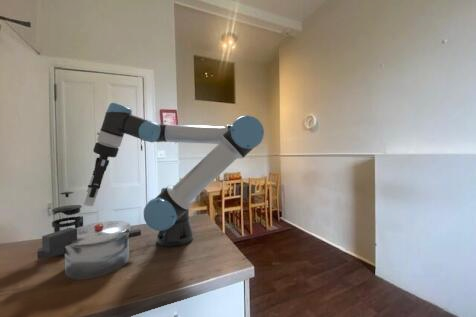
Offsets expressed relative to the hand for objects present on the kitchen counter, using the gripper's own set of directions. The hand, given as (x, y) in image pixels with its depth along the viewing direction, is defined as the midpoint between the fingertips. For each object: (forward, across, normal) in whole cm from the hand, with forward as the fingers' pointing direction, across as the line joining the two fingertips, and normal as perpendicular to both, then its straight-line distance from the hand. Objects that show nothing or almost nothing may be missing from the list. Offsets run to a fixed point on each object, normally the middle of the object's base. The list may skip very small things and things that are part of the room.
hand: (89, 198), depth 75 cm
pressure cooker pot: (+18, +13, +8) cm, 23 cm away
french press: (+24, -6, -1) cm, 25 cm away
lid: (+8, +13, +3) cm, 16 cm away
